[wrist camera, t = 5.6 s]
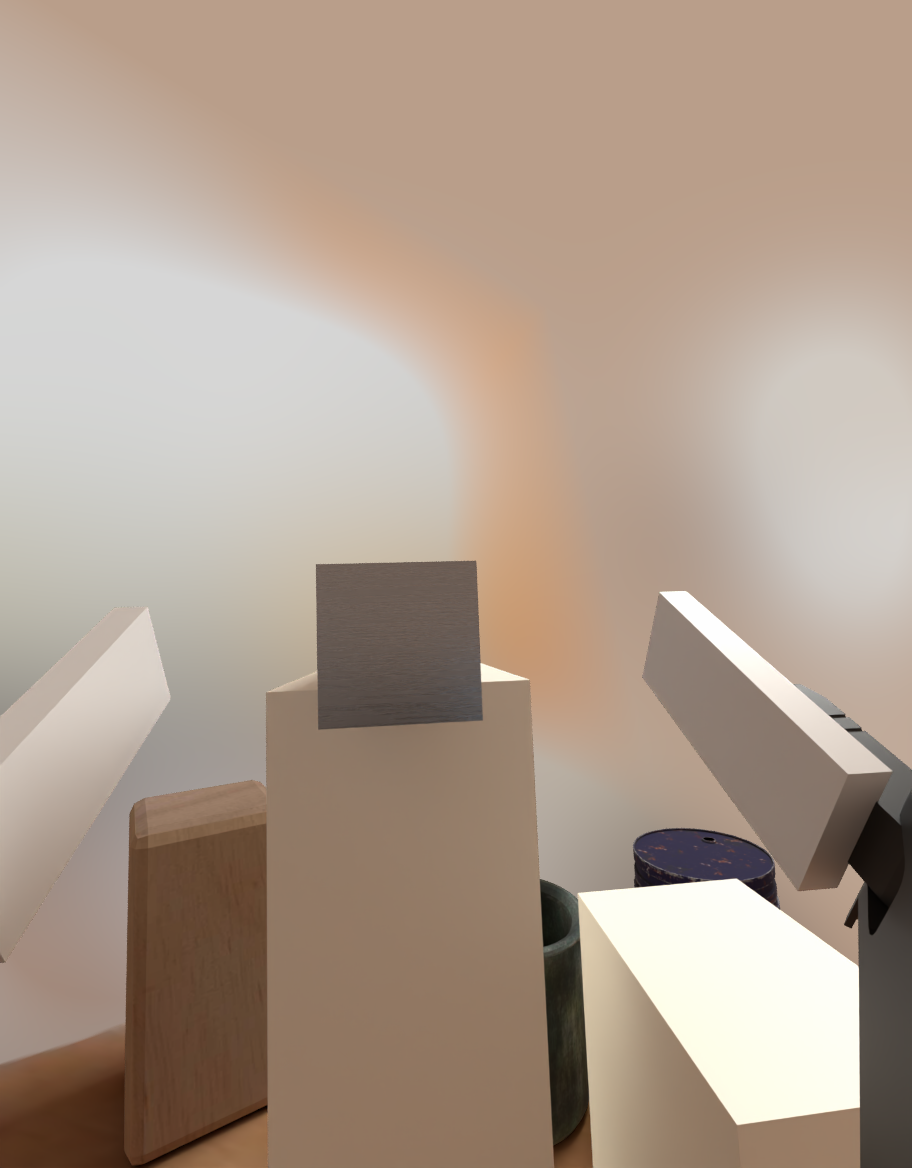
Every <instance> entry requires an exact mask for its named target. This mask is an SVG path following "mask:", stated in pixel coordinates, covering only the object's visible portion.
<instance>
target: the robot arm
mask: <svg viewBox="0 0 912 1168" xmlns="http://www.w3.org/2000/svg"><path fill="white" fill-rule="evenodd" d="M643 679H644V680H645V681H646V683H647V684H648V686H649V687H650V688H651V689H652V691H653V693H654V694H655V695H656V697H657V698H658V699H659V701H660V702H661V704H662V705H663V706H664V708H665V709H666V710H667V712H668V713H669V714H670V716H671V717H672V719H673V720H674V721H675V723H676V724H677V726H678V727H679V728H680V730H681V731H682V732H683V734H684V735H685V737H686V738H687V739H688V741H689V742H690V743H691V745H692V746H693V747H694V749H695V750H696V752H697V753H698V755H699V756H700V757H701V759H702V760H703V761H704V763H705V764H706V765H707V767H708V768H709V769H710V771H711V772H712V774H713V775H714V777H715V778H716V779H717V781H718V782H719V783H720V785H721V786H722V787H723V789H724V790H725V792H726V793H727V794H728V796H729V797H730V798H731V800H732V801H733V803H734V804H735V805H736V807H737V808H738V810H739V811H740V812H741V814H742V815H743V816H744V818H745V819H746V821H747V822H748V823H749V824H750V826H751V827H752V829H753V830H754V831H755V833H756V834H757V836H758V837H759V838H760V840H761V841H762V843H763V844H764V845H765V847H766V848H767V849H768V851H769V852H770V854H771V855H772V856H773V858H774V859H775V861H776V862H777V863H778V865H779V866H780V867H781V869H782V870H783V871H784V873H785V874H786V876H787V877H788V878H789V880H790V881H791V882H792V884H793V885H794V887H795V888H796V889H797V891H806V890H817V889H827V888H828V889H829V888H837V887H838V885H839V883H840V881H841V879H842V877H843V875H844V872H845V871H846V869H847V866H848V864H850V865H851V866H852V867H853V869H854V870H855V871H856V872H857V873H858V874H859V875H860V877H861V878H862V879H863V880H864V881H865V882H864V884H863V886H862V888H861V890H860V892H859V893H858V895H857V898H856V899H855V902H854V903H853V906H852V908H851V909H850V911H849V913H848V916H847V918H846V921H845V923H844V925H845V926H847V927H849V928H852V926H853V924H854V923H855V921H856V919H858V926H859V927H858V934H859V935H858V936H859V1074H860V1168H912V770H911V769H910V768H909V767H908V766H907V765H905V764H904V763H903V762H902V761H900V760H899V759H898V758H897V757H896V756H895V755H893V754H892V753H891V752H890V751H889V750H887V749H886V748H885V747H884V746H883V745H881V744H880V743H879V742H878V741H877V740H876V739H874V738H873V737H872V736H871V735H869V734H868V733H867V732H866V731H862V730H861V727H860V726H859V725H858V724H856V723H855V722H854V721H853V720H851V719H850V718H849V717H848V718H846V717H845V714H844V713H843V712H842V711H841V710H840V709H838V708H837V707H836V706H835V705H834V704H833V703H831V702H830V701H829V700H828V699H826V698H825V697H823V696H822V695H820V694H818V693H816V692H814V691H812V690H810V689H808V688H807V687H805V686H803V685H801V684H792V683H791V682H790V681H789V680H787V679H786V678H785V677H784V676H783V675H782V674H781V673H779V672H778V671H777V670H776V669H775V668H774V667H773V666H771V665H770V664H769V663H768V662H767V661H766V660H765V659H763V658H762V657H761V656H760V655H759V654H757V653H756V652H755V651H754V650H753V649H752V648H751V647H749V646H748V645H747V644H746V643H745V642H744V641H743V640H742V639H740V638H739V637H738V636H737V635H736V634H735V633H734V632H732V631H731V630H730V629H729V628H728V627H727V626H725V625H724V624H723V623H722V622H721V621H720V620H719V619H717V618H716V617H715V616H714V615H713V614H712V613H710V612H709V611H708V610H707V609H706V608H705V607H704V606H703V605H701V604H700V603H699V602H698V601H697V600H696V599H695V598H693V597H692V596H691V595H690V594H689V593H688V592H686V591H681V592H659V596H658V601H657V606H656V611H655V616H654V621H653V627H652V632H651V637H650V642H649V647H648V652H647V657H646V662H645V667H644V672H643ZM170 699H171V698H170V694H169V690H168V686H167V682H166V678H165V674H164V670H163V666H162V662H161V658H160V654H159V650H158V646H157V642H156V638H155V634H154V630H153V626H152V622H151V618H150V614H149V610H148V607H118V608H117V607H116V608H114V609H112V610H111V612H109V613H108V614H107V615H106V616H105V617H104V618H103V619H102V620H101V621H100V622H99V623H98V624H97V625H96V626H95V627H94V628H93V629H92V630H90V632H88V633H87V634H86V635H85V636H84V637H83V638H82V639H81V640H80V641H79V642H78V643H77V644H76V645H75V646H74V647H73V648H72V649H71V650H70V651H69V652H67V653H66V654H65V655H64V656H63V657H62V658H61V659H60V660H59V661H58V662H57V663H56V664H55V665H54V666H53V667H52V668H51V669H50V670H49V671H48V672H46V673H45V674H44V675H43V676H42V678H40V679H39V680H38V681H37V682H36V683H35V684H34V685H33V686H32V687H31V688H30V689H29V690H28V691H27V692H26V693H24V695H23V696H21V697H20V698H19V699H18V700H17V701H16V702H15V703H14V704H13V705H12V706H11V707H10V708H9V709H8V710H7V711H6V712H5V713H4V714H3V715H2V716H0V963H4V962H6V960H7V959H8V957H9V956H10V954H11V953H12V951H13V950H14V948H15V946H16V945H17V943H18V941H19V940H20V938H21V936H22V935H23V934H24V932H25V930H26V929H27V927H28V926H29V924H30V922H31V921H32V919H33V918H34V916H35V914H36V913H37V911H38V909H39V908H40V906H41V905H42V903H43V902H44V900H45V898H46V897H47V895H48V894H49V892H50V890H51V889H52V887H53V886H54V884H55V882H56V881H57V879H58V878H59V876H60V874H61V873H62V871H63V870H64V868H65V866H66V865H67V863H68V862H69V860H70V858H71V857H72V855H73V854H74V852H75V851H76V849H77V847H78V846H79V844H80V842H81V841H82V839H83V838H84V836H85V834H86V833H87V831H88V830H89V828H90V827H91V825H92V823H93V822H94V820H95V819H96V817H97V815H98V814H99V812H100V811H101V809H102V807H103V806H104V804H105V803H106V801H107V799H108V798H109V796H110V794H111V793H112V791H113V790H114V788H115V787H116V785H117V784H118V782H119V780H120V779H121V777H122V775H123V774H124V772H125V771H126V769H127V767H128V766H129V764H130V763H131V761H132V760H133V758H134V756H135V755H136V753H137V752H138V750H139V748H140V747H141V745H142V744H143V742H144V740H145V739H146V737H147V736H148V734H149V732H150V731H151V729H152V728H153V726H154V724H155V722H156V721H157V720H158V718H159V716H160V715H161V713H162V712H163V710H164V708H165V707H166V705H167V704H168V702H169V701H170Z"/></svg>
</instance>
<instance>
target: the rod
mask: <svg viewBox="0 0 912 1168" xmlns="http://www.w3.org/2000/svg"><path fill="white" fill-rule="evenodd" d="M316 597H317V678H318V730H321V729H339V728H357V727H375V726H393V725H411V724H430V723H448V722H466V721H483V712H482V688H481V663H480V641H479V615H478V592H477V567H476V561H446V562H404V563H362V564H361V563H359V564H316Z"/></svg>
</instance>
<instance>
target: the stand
mask: <svg viewBox="0 0 912 1168" xmlns="http://www.w3.org/2000/svg"><path fill="white" fill-rule="evenodd" d="M481 688H482V712H483V721H466V722H448V723H430V724H411V725H393V726H375V727H357V728H339V729H321V730H318V678H317V671H316V672H314V673H311V674H309V675H307V676H304V677H302V678H299V679H297V680H295V681H292V682H290V683H288V684H285V685H283V686H280V687H278V688H275V689H273V690H271V691H268V692H266V769H267V770H266V774H267V775H266V783H267V784H266V785H267V787H266V791H267V1057H268V1168H554V1156H553V1136H552V1116H551V1096H550V1076H549V1056H548V1036H547V1016H546V996H545V976H544V956H543V936H542V916H541V896H540V875H539V858H538V857H539V855H538V835H537V815H536V797H535V776H534V755H533V737H532V715H531V695H530V680H529V679H526V678H523V677H520V676H517V675H514V674H511V673H508V672H505V671H502V670H499V669H496V668H493V667H490V666H487V665H484V664H482V663H481Z"/></svg>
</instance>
